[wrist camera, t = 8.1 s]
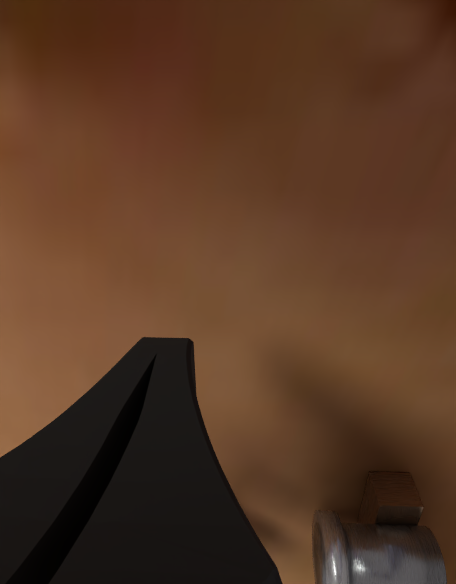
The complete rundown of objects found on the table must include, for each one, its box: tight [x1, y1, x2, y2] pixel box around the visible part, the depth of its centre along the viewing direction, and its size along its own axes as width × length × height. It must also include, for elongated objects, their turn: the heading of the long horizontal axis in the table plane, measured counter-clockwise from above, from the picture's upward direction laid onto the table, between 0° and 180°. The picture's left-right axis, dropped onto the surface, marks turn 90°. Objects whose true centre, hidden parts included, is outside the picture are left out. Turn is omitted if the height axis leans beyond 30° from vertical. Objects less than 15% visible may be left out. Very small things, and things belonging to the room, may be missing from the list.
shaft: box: [312, 471, 447, 584], centre depth 23 cm, size 6×5×6 cm
